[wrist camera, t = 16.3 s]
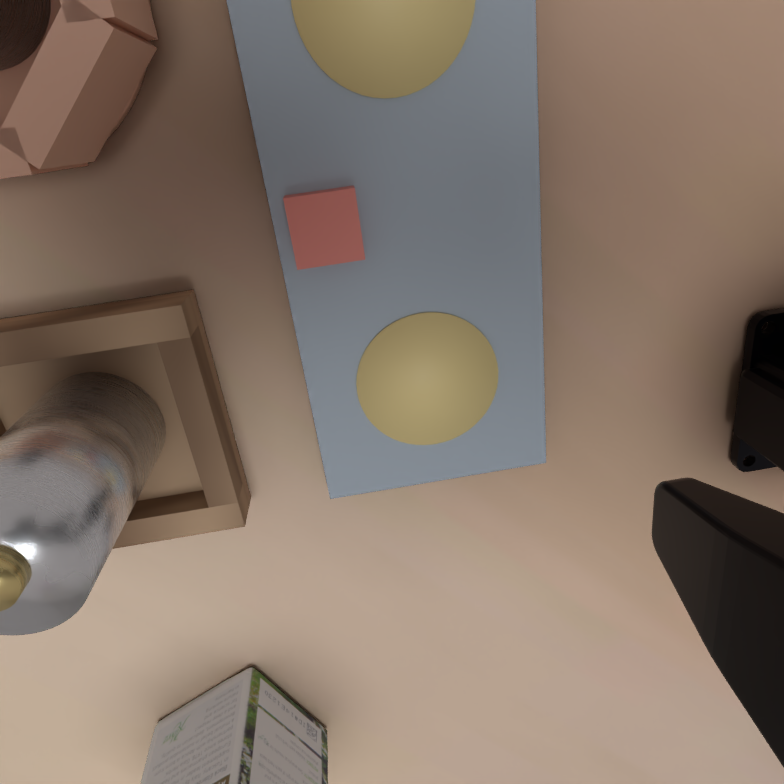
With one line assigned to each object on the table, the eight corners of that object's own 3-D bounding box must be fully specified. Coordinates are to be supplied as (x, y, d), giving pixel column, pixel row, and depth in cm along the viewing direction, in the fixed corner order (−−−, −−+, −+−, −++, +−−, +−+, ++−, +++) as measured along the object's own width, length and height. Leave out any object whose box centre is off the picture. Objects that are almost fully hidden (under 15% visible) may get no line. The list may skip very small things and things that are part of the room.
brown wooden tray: (193, 289, 19) (181, 305, 17) (250, 497, 22) (244, 526, 21) (-62, 328, 18) (-100, 347, 17) (35, 532, 22) (11, 565, 20)
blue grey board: (519, -157, 15) (543, -191, 13) (537, 449, 23) (553, 474, 21) (206, -118, 15) (191, -148, 13) (330, 483, 22) (330, 512, 21)
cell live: (145, 363, 19) (43, 496, 12) (180, 468, 21) (106, 638, 14) (20, 382, 19) (-157, 529, 12) (65, 486, 21) (-68, 669, 14)
